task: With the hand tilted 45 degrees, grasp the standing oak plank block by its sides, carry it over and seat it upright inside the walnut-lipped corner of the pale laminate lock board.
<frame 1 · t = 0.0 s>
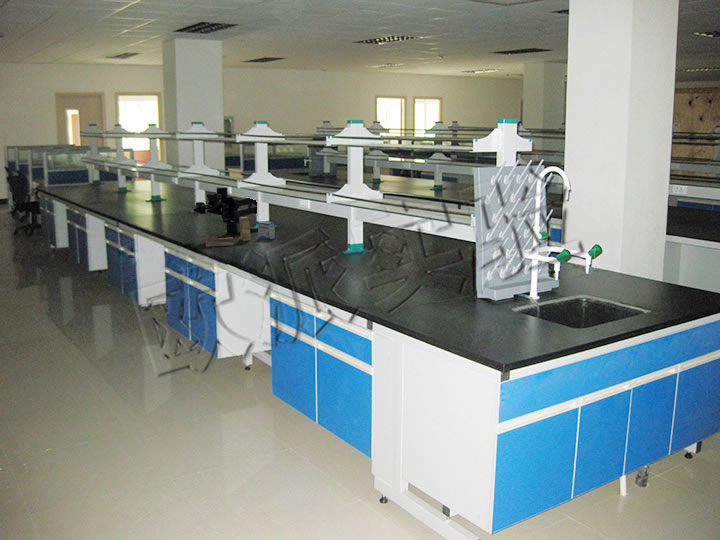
hand: (200, 210, 364), 17 cm above the counter, tool horizontal, fingers open, 9 cm apart
oak plank block: (245, 239, 370), on the counter
lock board: (219, 243, 362), on the counter
medicine box: (266, 238, 373), on the counter
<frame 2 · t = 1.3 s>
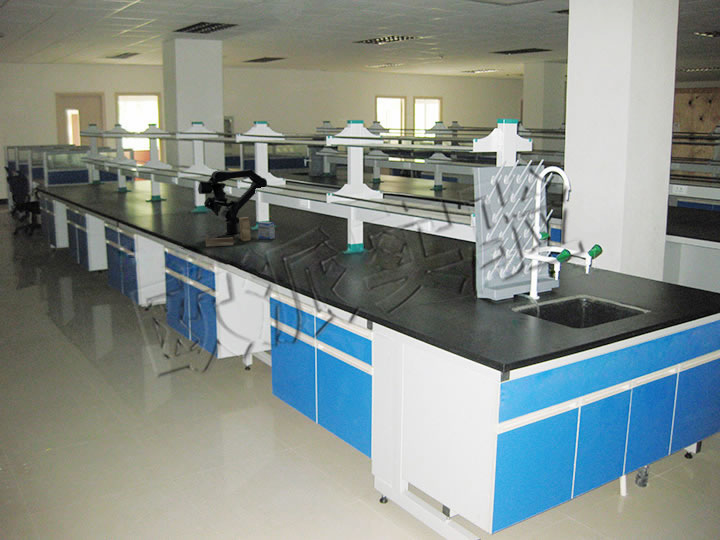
hand: (225, 216, 373), 12 cm above the counter, tool tilted 40°, fingers open, 9 cm apart
nothing on the counter moved.
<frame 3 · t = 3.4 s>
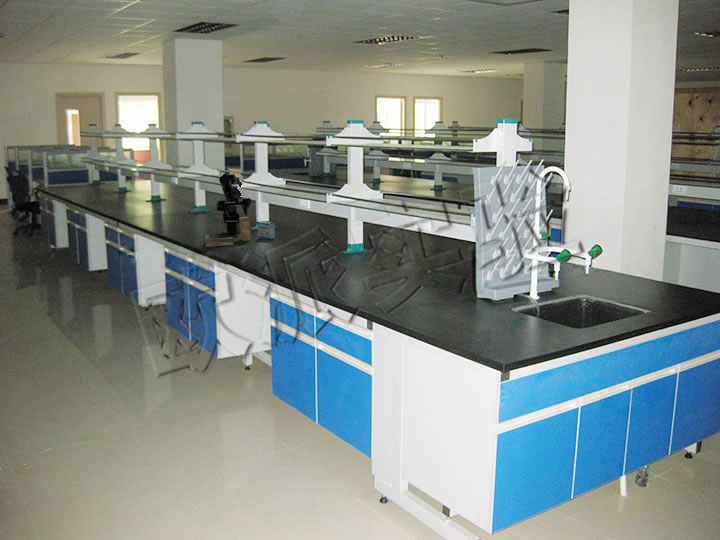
hand: (238, 216, 371), 12 cm above the counter, tool tilted 45°, fingers open, 9 cm apart
nothing on the counter moved.
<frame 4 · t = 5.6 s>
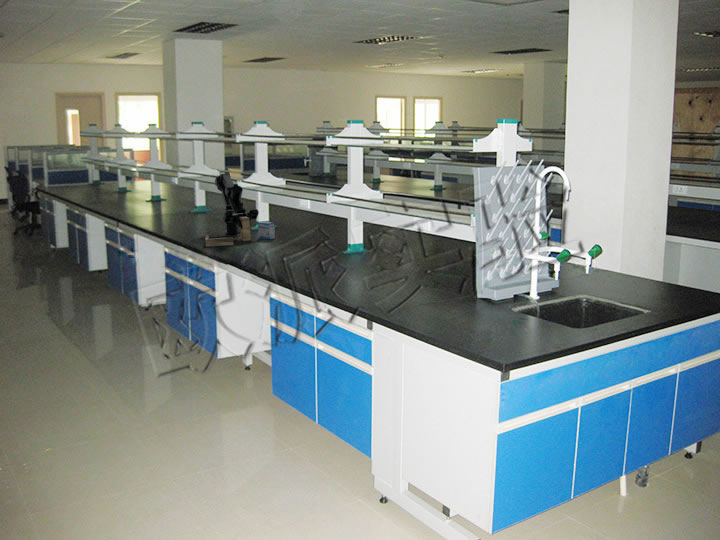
hand: (246, 228, 367), 7 cm above the counter, tool tilted 45°, fingers closed on oak plank block, 4 cm apart
oak plank block: (245, 239, 370), on the counter, touching gripper
everything else where it was.
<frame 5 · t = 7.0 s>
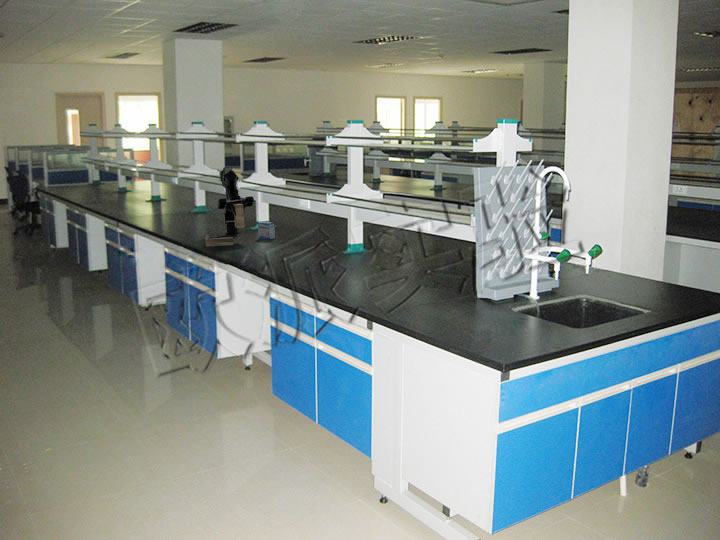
hand: (239, 215, 362), 14 cm above the counter, tool tilted 45°, fingers closed on oak plank block, 4 cm apart
oak plank block: (239, 227, 365), point 7 cm above the counter, touching gripper
everything else where it was.
when the fingers open (10 cm above the counter, at t = 8.8 s): oak plank block drops 1 cm, resting on lock board.
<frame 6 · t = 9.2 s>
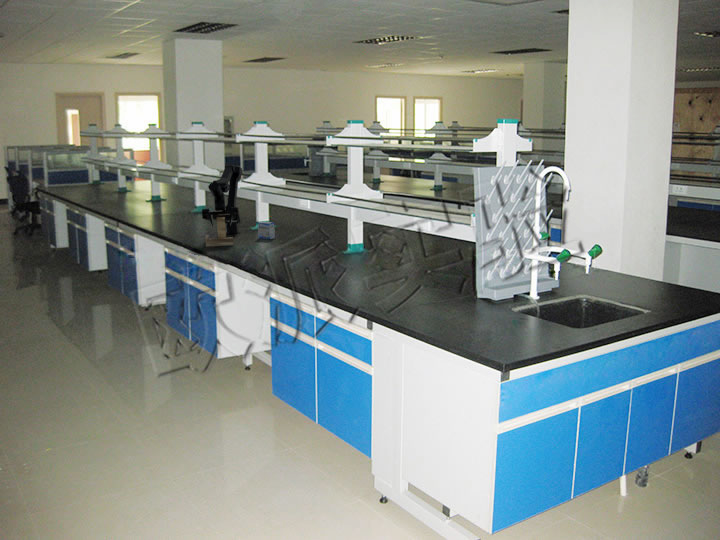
hand: (221, 226, 357), 10 cm above the counter, tool tilted 45°, fingers open, 9 cm apart
oak plank block: (222, 240, 360), point 2 cm above the counter, touching lock board
everything else where it was.
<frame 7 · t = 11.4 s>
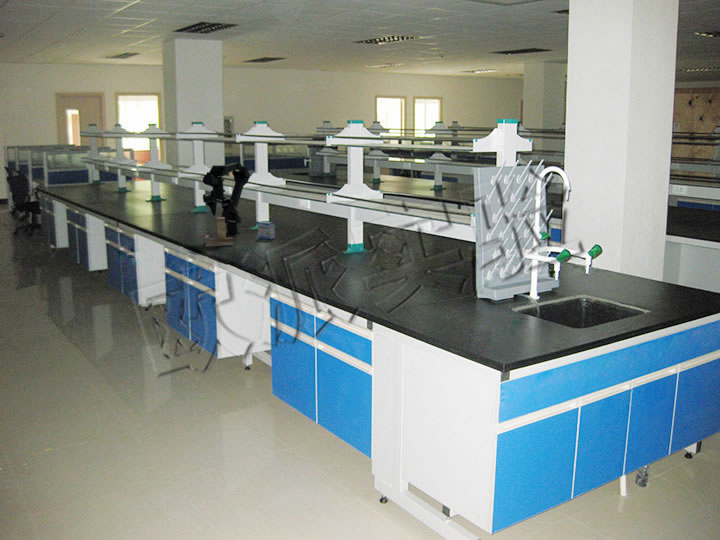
hand: (219, 216, 370), 12 cm above the counter, tool tilted 20°, fingers open, 9 cm apart
nothing on the counter moved.
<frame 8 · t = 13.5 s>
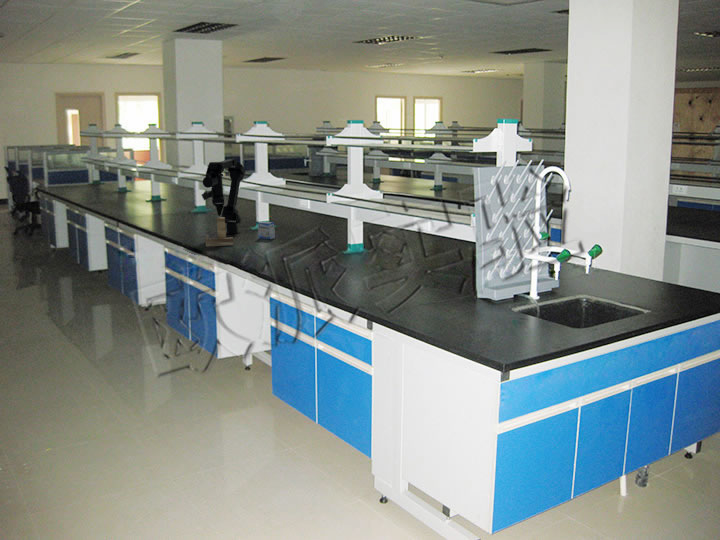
hand: (219, 214, 373), 13 cm above the counter, tool pointing down, fingers open, 9 cm apart
nothing on the counter moved.
at the end: oak plank block 2.1 cm from the lock board (horizontally); oak plank block tilted 0°; the gripper is holding nothing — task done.
